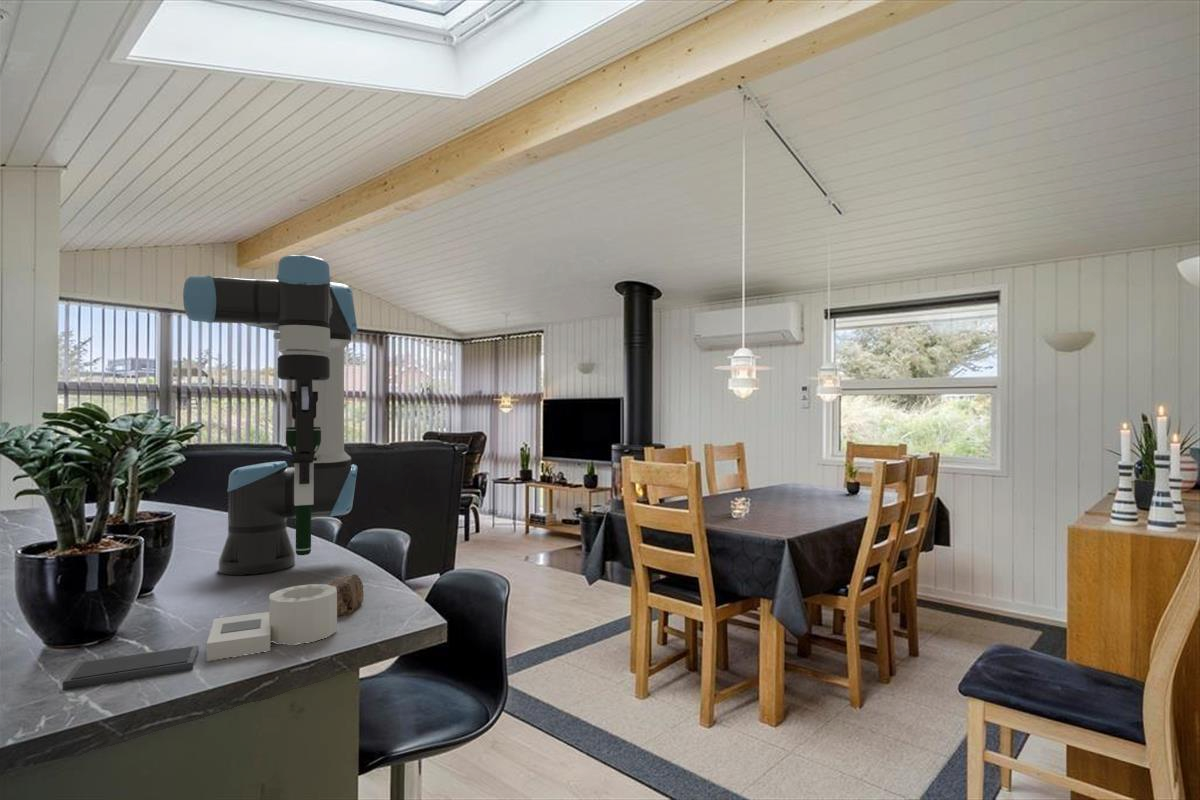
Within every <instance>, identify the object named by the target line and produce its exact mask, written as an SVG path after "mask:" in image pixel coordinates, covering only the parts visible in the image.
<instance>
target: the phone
mask: <svg viewBox="0 0 1200 800" xmlns="http://www.w3.org/2000/svg"><path fill="white" fill-rule="evenodd" d="M199 650H200V649H199V644H198V645H193V646H192V645H191V646H186V647H179V648H172V649H165V650H155V651H149V652H143V653H136V654H129V655H122V656H114V657H107V658H101V659H94V660H88V661H87V660H86V661H79V662H77V664H76V665H75V666H74V667H73V669H72V670H71V671H70V673H69V674H68V675H67V676H66V677H65V679H64V680H63V681H62V691H65V690H71V689H76V688H77V689H78V688H84V687H89V686H97V685H102V684H109V683H116V682H121V681H129V680H136V679H141V678H148V677H153V676H154V677H155V676H160V675H167V674H168V675H169V674H172V673H173V674H174V673H180V672H187V671H193V670H194V667H195V663H196V660H197V658H198V655H199V652H200V651H199Z"/></svg>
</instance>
